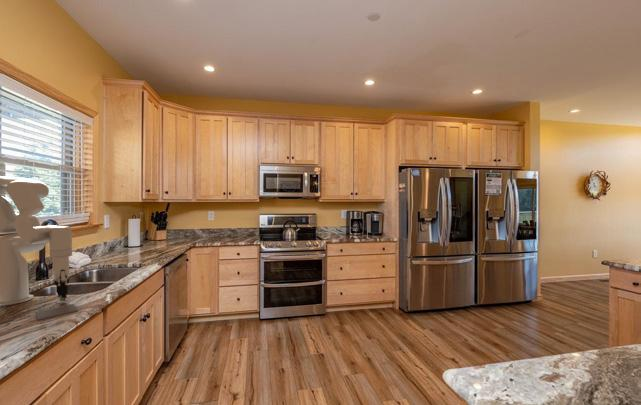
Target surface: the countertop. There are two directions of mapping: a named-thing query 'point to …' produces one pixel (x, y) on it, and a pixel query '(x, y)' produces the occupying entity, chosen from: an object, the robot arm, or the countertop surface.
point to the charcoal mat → (55, 312)
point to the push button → (61, 297)
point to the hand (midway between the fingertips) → (61, 292)
